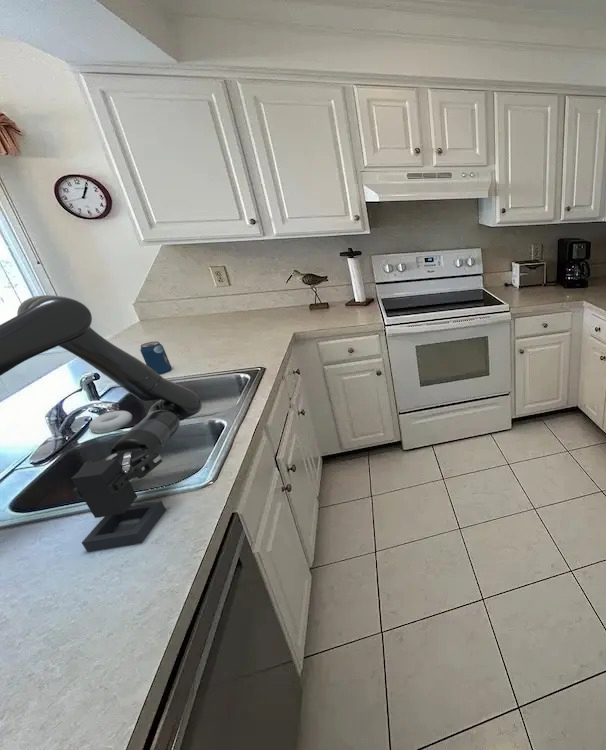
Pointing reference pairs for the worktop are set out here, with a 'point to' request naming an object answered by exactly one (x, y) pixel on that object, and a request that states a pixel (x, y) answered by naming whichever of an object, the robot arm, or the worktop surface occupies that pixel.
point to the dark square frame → (106, 540)
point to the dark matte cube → (103, 488)
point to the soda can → (155, 357)
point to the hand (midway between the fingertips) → (95, 492)
